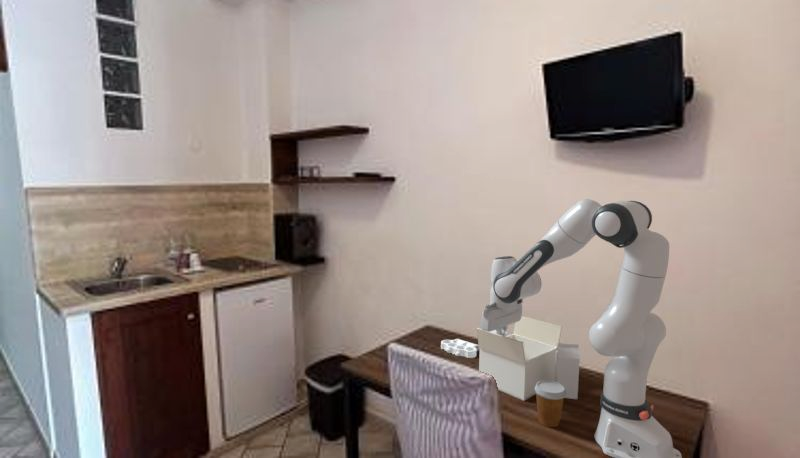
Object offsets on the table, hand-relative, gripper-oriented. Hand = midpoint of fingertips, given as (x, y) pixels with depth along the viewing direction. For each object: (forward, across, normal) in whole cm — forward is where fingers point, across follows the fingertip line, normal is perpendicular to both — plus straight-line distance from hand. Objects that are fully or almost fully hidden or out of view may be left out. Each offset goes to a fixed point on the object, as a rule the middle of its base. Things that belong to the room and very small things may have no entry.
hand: (500, 337), depth 162 cm
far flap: (+3, +23, 0) cm, 24 cm away
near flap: (+2, 0, 0) cm, 2 cm away
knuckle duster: (+21, +19, +35) cm, 45 cm away
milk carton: (+20, +16, -17) cm, 31 cm away
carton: (+20, +11, 0) cm, 23 cm away
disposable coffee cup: (+20, -6, -23) cm, 31 cm away
